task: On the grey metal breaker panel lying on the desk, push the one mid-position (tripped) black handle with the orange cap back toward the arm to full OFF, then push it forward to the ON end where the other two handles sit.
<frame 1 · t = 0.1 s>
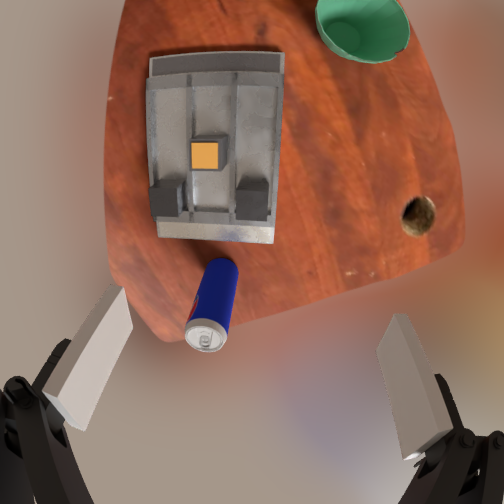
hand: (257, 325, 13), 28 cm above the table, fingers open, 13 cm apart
beverage can: (222, 269, 45), on the table
mug: (343, 22, 26), on the table
tripped breaker: (208, 152, 33), point 4 cm above the table, slide at 0.0 cm
panel: (214, 147, 36), on the table
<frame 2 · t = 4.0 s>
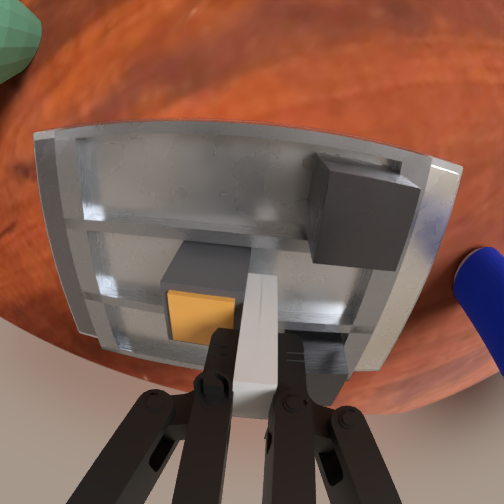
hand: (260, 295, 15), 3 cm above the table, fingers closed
beverage can: (473, 270, 17), on the table
mug: (5, 52, 11), on the table
tripped breaker: (209, 295, 15), point 4 cm above the table, slide at -0.4 cm, touching gripper
panel: (227, 259, 18), on the table
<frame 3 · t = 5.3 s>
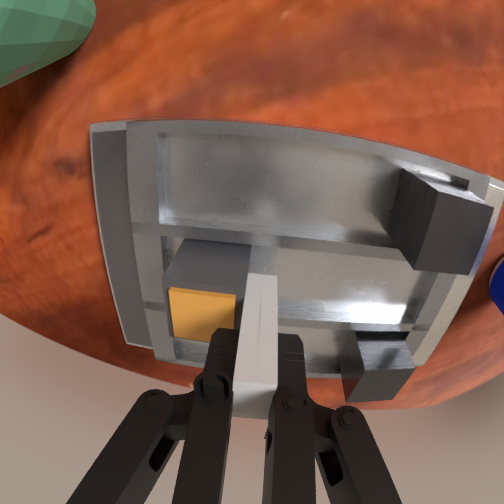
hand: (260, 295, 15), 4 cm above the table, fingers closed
mug: (45, 33, 11), on the table
tripped breaker: (210, 292, 15), point 4 cm above the table, slide at -5.3 cm, touching gripper
panel: (304, 264, 18), on the table
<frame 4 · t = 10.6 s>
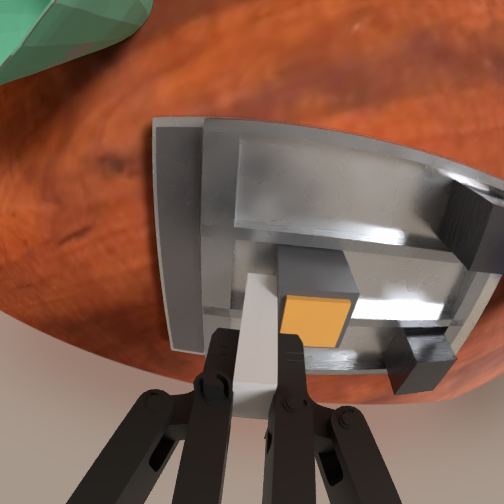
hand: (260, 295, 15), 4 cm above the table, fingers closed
mug: (87, 18, 11), on the table
tripped breaker: (308, 297, 15), point 4 cm above the table, slide at -4.0 cm, touching gripper
panel: (360, 266, 18), on the table
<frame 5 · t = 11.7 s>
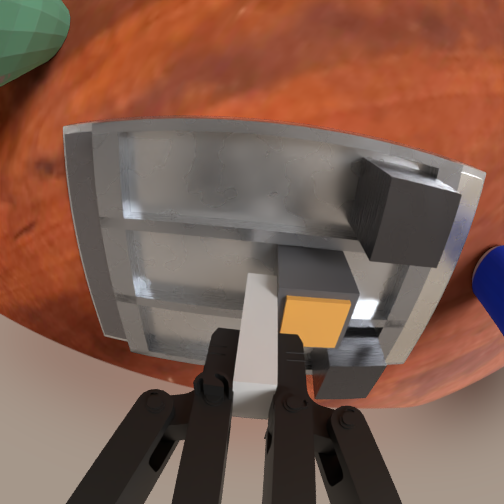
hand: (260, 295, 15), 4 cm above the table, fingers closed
beverage can: (489, 267, 18), on the table
mug: (26, 42, 11), on the table
tripped breaker: (308, 298, 15), point 4 cm above the table, slide at 2.2 cm, touching gripper
panel: (268, 258, 18), on the table
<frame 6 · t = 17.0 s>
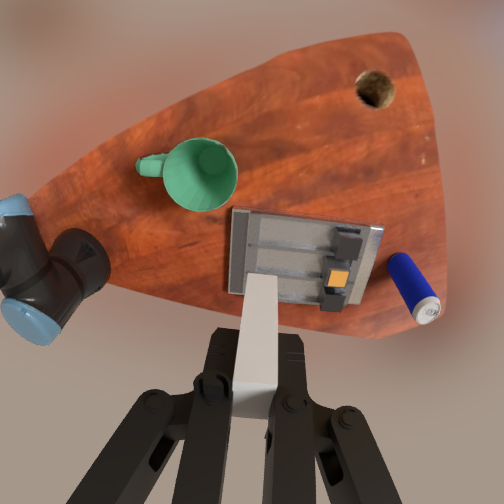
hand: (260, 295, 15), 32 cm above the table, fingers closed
beverage can: (397, 262, 50), on the table
mug: (199, 158, 44), on the table
tripped breaker: (335, 272, 48), point 4 cm above the table, slide at 5.4 cm
panel: (303, 257, 51), on the table
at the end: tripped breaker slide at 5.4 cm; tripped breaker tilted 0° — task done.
